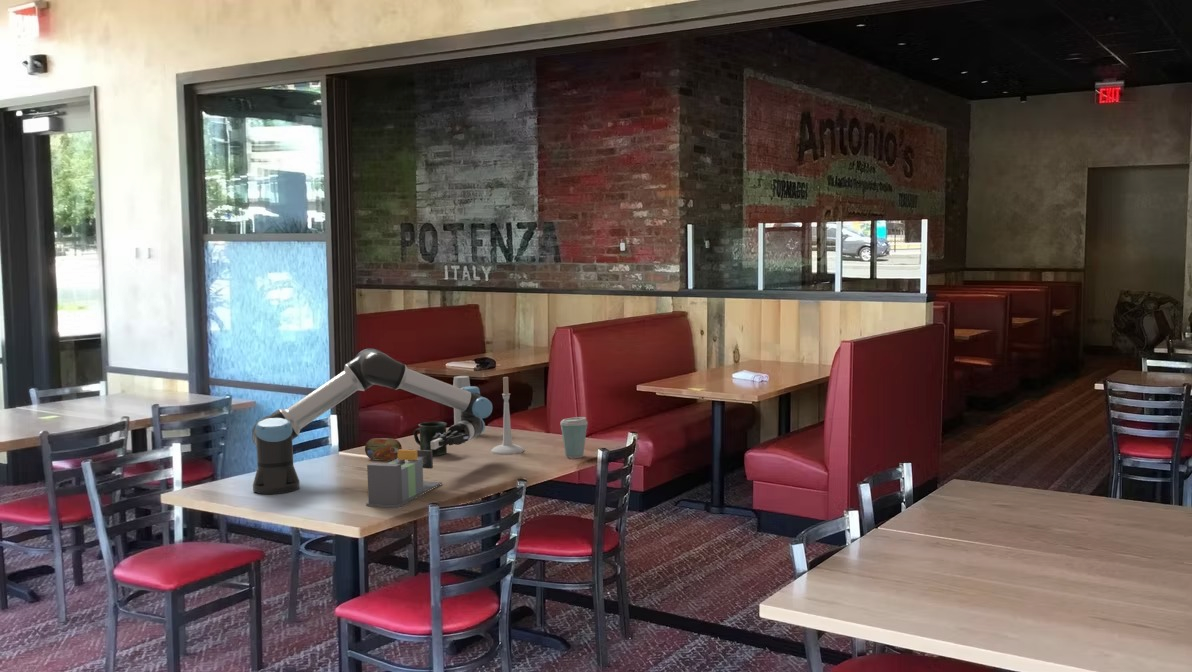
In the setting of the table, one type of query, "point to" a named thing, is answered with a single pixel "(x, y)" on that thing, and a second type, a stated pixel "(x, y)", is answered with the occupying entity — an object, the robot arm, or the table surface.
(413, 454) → the orange rectangular plank
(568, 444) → the disposable coffee cup
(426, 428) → the mug
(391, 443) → the tin
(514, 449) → the candlestick
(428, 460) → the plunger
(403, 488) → the grey stepped block
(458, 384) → the water bottle
